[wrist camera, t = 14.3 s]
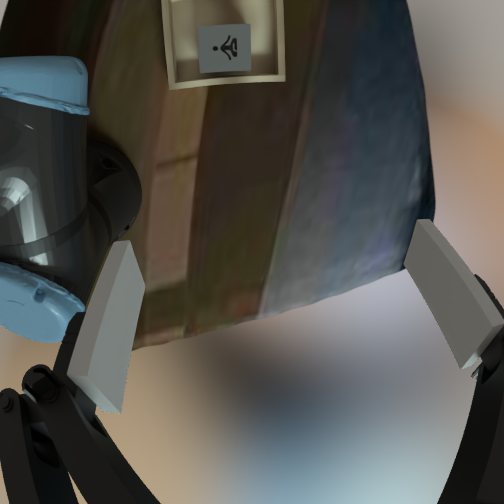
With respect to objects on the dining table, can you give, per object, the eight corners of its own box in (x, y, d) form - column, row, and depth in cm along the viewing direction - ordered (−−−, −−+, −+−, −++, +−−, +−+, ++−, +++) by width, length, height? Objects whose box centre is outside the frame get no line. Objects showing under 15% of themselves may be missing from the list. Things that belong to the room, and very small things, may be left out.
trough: (174, 86, 31) (169, 90, 29) (166, -2, 24) (161, -6, 22) (280, 78, 32) (285, 81, 29) (277, -10, 25) (282, -15, 22)
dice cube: (248, 67, 30) (251, 70, 26) (203, 69, 30) (200, 73, 26) (247, 26, 27) (250, 23, 23) (201, 29, 27) (197, 26, 23)
